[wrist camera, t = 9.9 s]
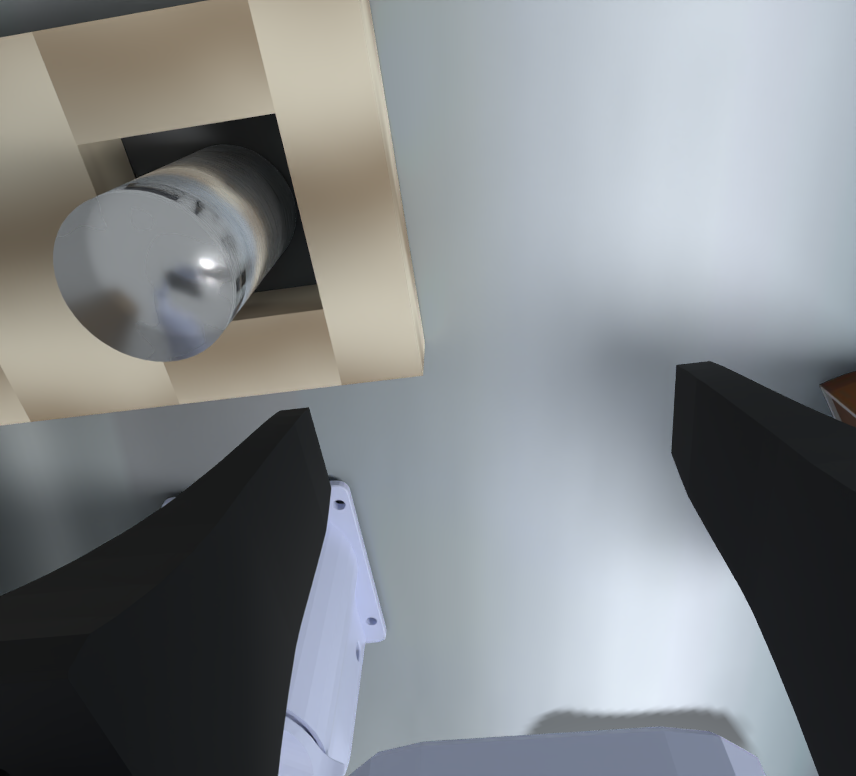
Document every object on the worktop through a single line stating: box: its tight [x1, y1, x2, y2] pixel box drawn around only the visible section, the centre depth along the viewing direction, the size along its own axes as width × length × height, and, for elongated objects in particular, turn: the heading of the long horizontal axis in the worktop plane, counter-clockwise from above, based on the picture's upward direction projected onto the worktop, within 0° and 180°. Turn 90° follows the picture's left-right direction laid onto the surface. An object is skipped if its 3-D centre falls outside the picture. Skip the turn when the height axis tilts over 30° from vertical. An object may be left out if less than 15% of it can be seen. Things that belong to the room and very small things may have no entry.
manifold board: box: [0, 0, 425, 425], centre depth 19 cm, size 11×20×2 cm, turn 98°
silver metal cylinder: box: [53, 144, 296, 362], centre depth 17 cm, size 4×4×7 cm
